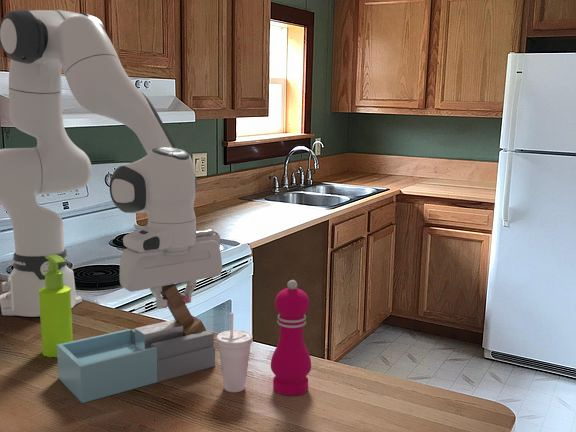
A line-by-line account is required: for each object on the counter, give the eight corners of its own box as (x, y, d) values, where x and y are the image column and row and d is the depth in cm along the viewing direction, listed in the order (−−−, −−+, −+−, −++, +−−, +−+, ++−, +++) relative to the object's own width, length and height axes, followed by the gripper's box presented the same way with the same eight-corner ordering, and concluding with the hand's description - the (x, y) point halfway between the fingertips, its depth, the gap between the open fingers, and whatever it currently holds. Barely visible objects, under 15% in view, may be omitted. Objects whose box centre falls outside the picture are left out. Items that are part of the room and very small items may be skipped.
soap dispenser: (51, 361, 123) (45, 261, 119) (38, 351, 128) (32, 254, 124) (80, 354, 127) (75, 257, 123) (66, 344, 132) (61, 250, 128)
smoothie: (212, 383, 115) (211, 309, 112) (245, 377, 117) (245, 305, 115) (222, 398, 109) (222, 320, 106) (257, 392, 111) (258, 316, 109)
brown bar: (177, 336, 126) (151, 289, 121) (193, 324, 128) (168, 277, 123) (191, 345, 122) (165, 296, 117) (207, 332, 124) (181, 283, 118)
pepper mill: (307, 399, 109) (309, 287, 105) (266, 394, 110) (267, 284, 107) (313, 381, 116) (316, 276, 112) (275, 377, 117) (276, 273, 114)
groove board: (130, 360, 124) (129, 328, 123) (185, 346, 131) (184, 316, 130) (158, 382, 115) (157, 348, 114) (215, 366, 122) (214, 334, 121)
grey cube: (154, 343, 122) (154, 324, 121) (173, 339, 125) (173, 319, 124) (164, 350, 119) (164, 330, 118) (183, 345, 122) (183, 325, 121)
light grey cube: (135, 348, 120) (134, 328, 119) (154, 343, 122) (154, 323, 122) (144, 355, 117) (144, 334, 116) (164, 350, 119) (164, 329, 118)
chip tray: (58, 378, 116) (56, 344, 114) (130, 360, 124) (129, 328, 123) (81, 403, 106) (80, 366, 105) (157, 382, 115) (156, 348, 114)
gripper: (211, 225, 128) (211, 291, 130) (114, 238, 115) (117, 310, 118) (228, 231, 123) (228, 299, 125) (129, 244, 110) (131, 320, 113)
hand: (173, 305), depth 121 cm, fingers closed on brown bar, 4 cm apart
